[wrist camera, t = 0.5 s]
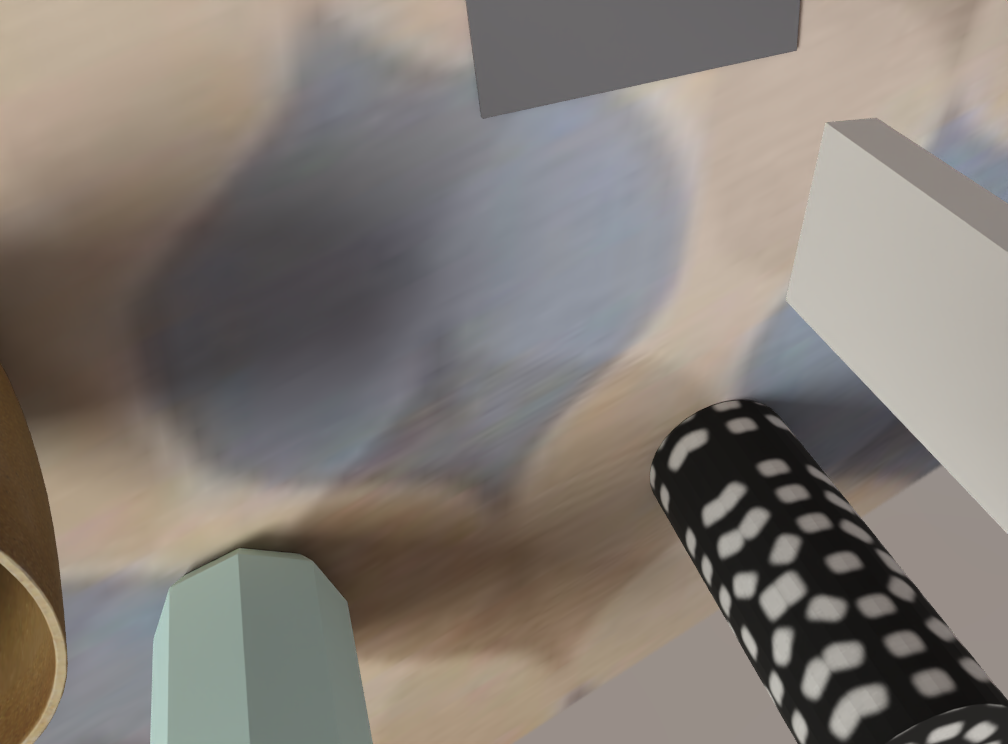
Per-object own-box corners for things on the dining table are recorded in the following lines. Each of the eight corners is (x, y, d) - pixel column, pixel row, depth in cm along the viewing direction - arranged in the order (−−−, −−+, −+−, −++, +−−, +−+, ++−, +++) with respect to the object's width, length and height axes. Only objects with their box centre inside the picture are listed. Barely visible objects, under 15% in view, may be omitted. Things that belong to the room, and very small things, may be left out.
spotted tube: (646, 526, 57) (822, 850, 41) (653, 416, 52) (857, 737, 36) (775, 496, 58) (992, 797, 43) (793, 387, 53) (1047, 682, 38)
